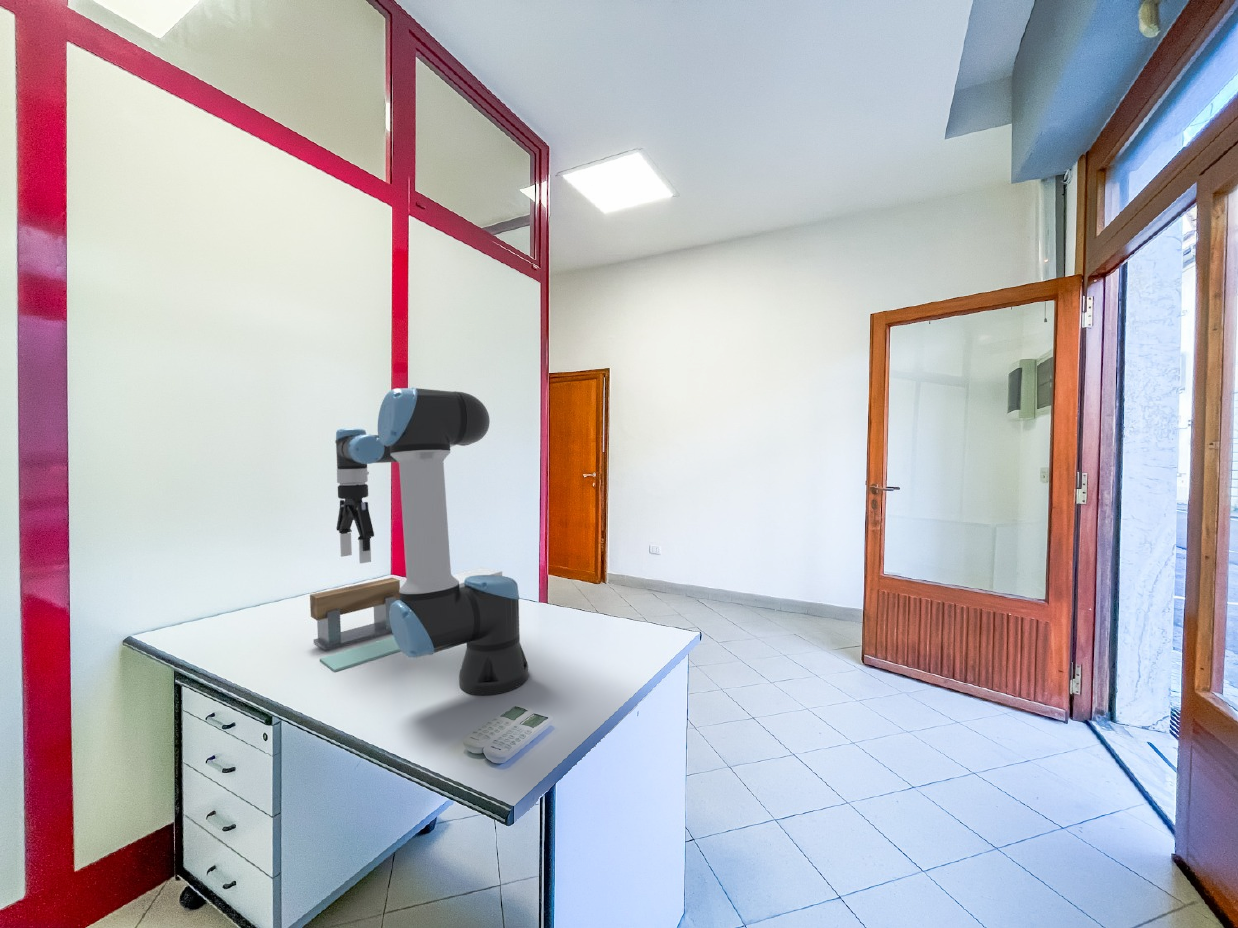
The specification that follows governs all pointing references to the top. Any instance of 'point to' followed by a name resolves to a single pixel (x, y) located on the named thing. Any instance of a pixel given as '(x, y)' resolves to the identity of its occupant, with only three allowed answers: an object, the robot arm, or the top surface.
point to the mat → (360, 654)
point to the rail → (353, 597)
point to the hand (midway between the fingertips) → (355, 559)
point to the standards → (335, 638)
